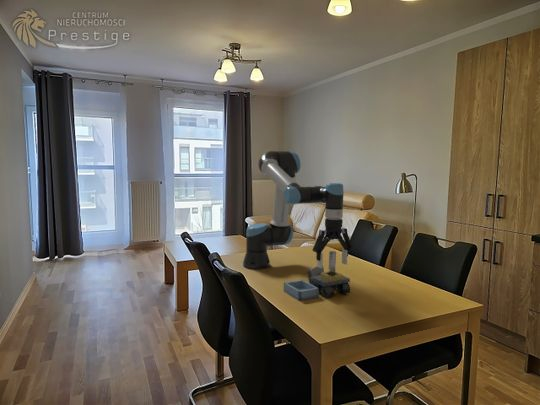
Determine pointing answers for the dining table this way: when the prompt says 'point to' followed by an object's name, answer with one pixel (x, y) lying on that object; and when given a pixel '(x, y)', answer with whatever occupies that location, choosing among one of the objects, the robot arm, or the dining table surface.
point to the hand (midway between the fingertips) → (332, 265)
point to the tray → (301, 290)
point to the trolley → (331, 283)
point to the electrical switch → (314, 272)
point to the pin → (332, 263)
